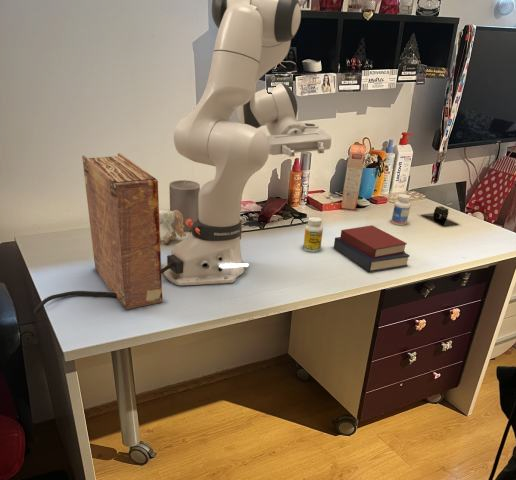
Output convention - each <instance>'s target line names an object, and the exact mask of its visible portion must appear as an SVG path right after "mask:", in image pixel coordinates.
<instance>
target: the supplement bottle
mask: <svg viewBox="0 0 516 480" xmlns="http://www.w3.org/2000/svg"><path fill="white" fill-rule="evenodd" d="M323 231H324V228H323V225H322V218H321V217H318V216H309V217H308V219H307V224H305V227H304V237H303V249H304V250H305V251H307V252H311V253H316V252H319V251H320V250H321V247H322V241H323V240H322V239H323Z"/></svg>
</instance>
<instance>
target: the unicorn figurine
mask: <svg viewBox="0 0 516 480" xmlns="http://www.w3.org/2000/svg"><path fill="white" fill-rule="evenodd" d="M175 215H176V217H177V220H176V229H175V226H174V225H173V224H172V223H173V222H174V219H175ZM182 223H183V217H182V214H181V213H180V212H179V211H177V210H174V211H170V209H160V210H159V226H160V225H162V224H163V225H164V226H165V227H166V228H167V230H168V232H167V233H166V234H165V235H164V237H163V238H164V239H163V240H164V244H165V245H167V244H168V243H169V241H173V239H174V240H175V239H176V238H177V236H179V237H180V238H183V237H187V234H186V233H185V232H186V231H184V230H183V227H184V225H183V224H182Z"/></svg>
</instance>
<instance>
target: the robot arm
mask: <svg viewBox="0 0 516 480" xmlns="http://www.w3.org/2000/svg"><path fill="white" fill-rule="evenodd" d="M211 15H212V16H211V17H212V21H213V23H214V25H215V26H216V28H217V29H218V30H217V34H216V37H215V42H214V47H213V52H212V58H211V65H210V68H209V73H208V79H207V82H206V85H205V89H204V91H203V94H202V96H201V97H200V100H199V101H198V102H197V104H196V106H195V107H194V108H193V109H192V110H191V112H189V113H188V114H187V115H186V116H184V117H182V118H181V119H180V120H179V121H178V123H177V125H176V126H175V129H174V132H173V144H174V148H175V150H176V152H177V153H178V154H179V155H180V156H182V157H184V158H185V159H188V160H189V161H192V162H195V163H198V164H202V165H206V166H212V167H215V174H214V178H213V179H211V180H209V181H207V182H206V183H204V184H203V185H202V186H200V191H199V194H198V211H199V218H198V219H197V220H196V221H195V222H193V221H192V220H191V219H187V221H186V225H187V226H188V227H189V228H192V230H191V233H190V234H188V235H186V236H185V238H184V239H182V240H181V241H179V243H177V244H175V246H173V248H172V250H171V253H170V254H169V255H166V262H165V261H164V263H163V264H162V267H161V275H162V274H163V276H164V277H165V278H166V279H167V280H168V281H169V282H171V283H172V284H174V285H177V286H179V287H180V286H181V287H183V286H199V285H201V286H202V285H215V284H217V285H219V284H232V283H234V282H235V281H236V280H237V278H238V277H239V276H240V277H241V275H242V274H243V273H244V272H245V268H247V267H249V263H248V262H246V263H245V262H244V263H243V259H242V251H241V240H242V232H243V228H242V224H243V223H242V219H241V212H242V199H243V193H244V190H245V187H246V184H247V182H248V181H249V179H250V178H251V177H252V176H253V175H254V174H255V173H257V172H259V171H260V170H261V169H262V168H263V167H264V166H265V165H266V163H267V162H268V159H269V156H278V155H286V156H288V157H290V158H292V157H295V155H296V154H298V153H308V152H317V153H318V154H319V155H320V154H324V153H325V150H326V151H328V150H330V149H331V147H332V136H331V135H330V134H329V133H328V132H327V131H325V130H324V129H322V128H319V125H318V124H316V123H307V122H306V123H305V122H301V121H297V120H296V118H297V115H298V101H297V98H296V94H295V93H294V91H293V90H292V88H291V87H290V86H288V84H286V83H284V82H281V84H279V85H277V86H276V87H274V88H273V90H272V92H271V93H272V94H268V93H267V90H266V88H267V87H265V88H263V89H261V90H258V91H257V92H256V87H257V83H258V82H259V80H260V79H261V78H262V77H263V76H264V75H265V74H267V73H268V72H269V71H270V70H272V69H273V68H275V67H276V66H277V65H280V63H282V61H284V59H286V57H287V56H288V54H289V52H290V48H291V43H292V40H293V38H295V36H296V35H297V32H298V30H299V27H300V24H301V21H302V20H301V19H302V11H301V3H300V0H212V1H211ZM235 111H236V115H237V118H238V121H239V122H237V121H231V117H232V116H233V114H234V112H235ZM264 125H265V126H266V129H267V131H268V133H269V135H267V134H266V133H265V132H264V131H263V130H262V129H259V128H260V127H262V126H264ZM70 296H71V297H72V296H99V297H100V296H101V297H102V296H103V297H112V298H117V294H116V293H113V292H112V291H110V292H109V291H93V290H92V291H91V290H71V291H65V292H61V293H56V294H52V295H49V296H47V297H45V298H44V299H43V300H42V301H40V302H39V304H37V306H36V307H35V309H34V310H33V311H32V314H39V312H40V310H41V309H42V308H43V307H44V306H45V305H46V304H47V303H48V302H50V301H52V300H56V299H60V298H66V297H70Z"/></svg>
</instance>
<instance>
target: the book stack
mask: <svg viewBox="0 0 516 480" xmlns="http://www.w3.org/2000/svg"><path fill="white" fill-rule="evenodd" d="M406 245H408V243H407V242H405V241H404V240H401V239H400V238H398V237H396V236H394V235H392V234H390V233H388V232H386V231H384V230H382V229H381V228H378V227H376V226H375V225H373V224H372V225H365V226H359V227H351V228H345V229H341V230H340V236H337V237H334V242H333V249H334V250H335V251H336V252H338V253H340V254H341V255H342V256H344V257H345V258H347V259H348V260H349V261H351V262H353V263H354V264H355V265H357V266H358V267H360V268H361V269H363V270H364V271H366V272H367V273H374V272H381V271H388V270H394V269H400V268H406V267H408V266H409V265H408V261H409V257H410V256H411V255H410V254H408V253H406V251H405V249H406Z"/></svg>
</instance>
